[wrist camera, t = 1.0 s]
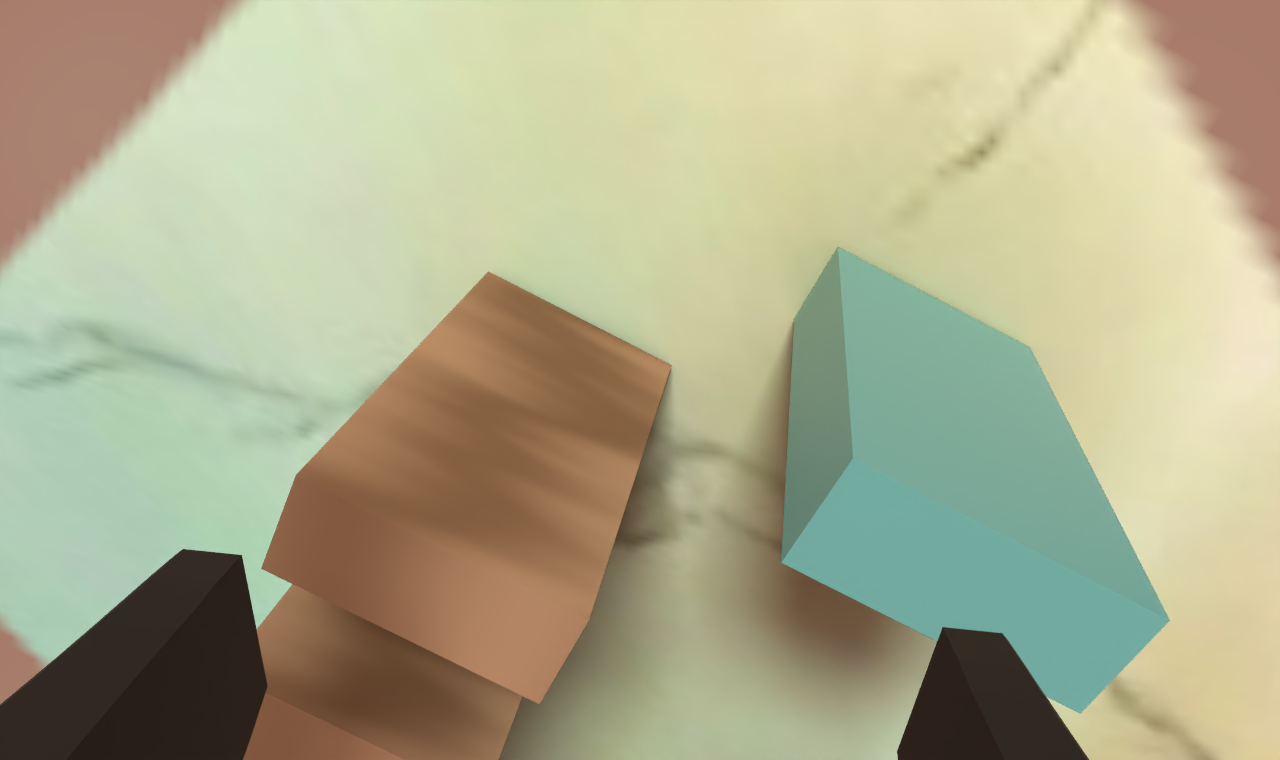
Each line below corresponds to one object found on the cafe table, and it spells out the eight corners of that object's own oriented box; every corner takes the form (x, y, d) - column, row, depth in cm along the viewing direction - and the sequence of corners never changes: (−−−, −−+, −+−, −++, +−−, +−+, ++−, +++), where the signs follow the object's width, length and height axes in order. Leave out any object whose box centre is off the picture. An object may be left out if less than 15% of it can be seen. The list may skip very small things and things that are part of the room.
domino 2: (596, 501, 26) (484, 797, 17) (566, 554, 27) (444, 864, 18) (425, 415, 26) (222, 672, 17) (401, 473, 27) (195, 745, 18)
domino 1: (671, 365, 24) (588, 620, 15) (636, 428, 25) (539, 704, 16) (488, 271, 24) (295, 475, 15) (459, 338, 25) (260, 568, 16)
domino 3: (1030, 347, 23) (1169, 620, 14) (979, 415, 24) (1079, 713, 15) (837, 246, 23) (852, 457, 14) (793, 319, 23) (781, 562, 14)
